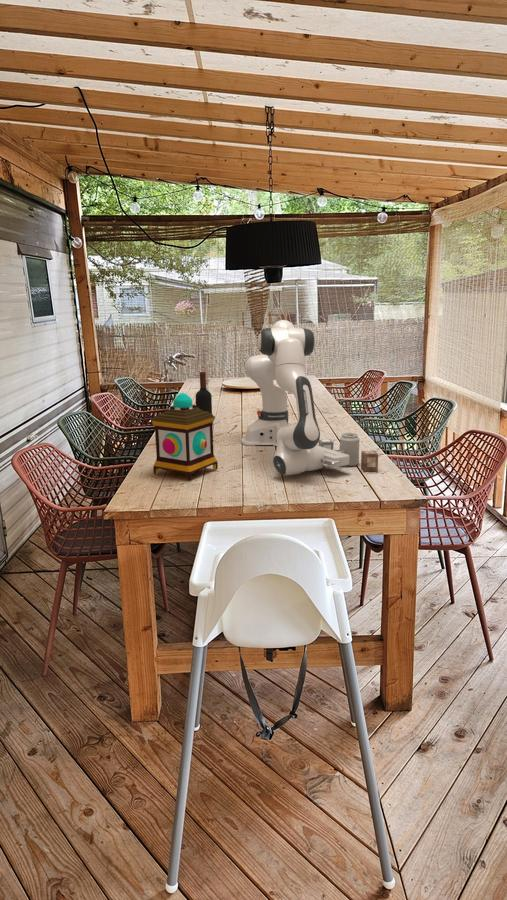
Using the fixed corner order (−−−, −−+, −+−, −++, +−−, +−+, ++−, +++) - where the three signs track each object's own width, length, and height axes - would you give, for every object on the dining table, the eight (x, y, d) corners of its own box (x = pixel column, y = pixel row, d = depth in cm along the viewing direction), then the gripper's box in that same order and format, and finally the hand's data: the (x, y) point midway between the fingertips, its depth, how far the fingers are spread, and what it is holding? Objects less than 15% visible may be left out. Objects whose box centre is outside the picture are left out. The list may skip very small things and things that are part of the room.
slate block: (320, 459, 233) (321, 442, 231) (318, 456, 238) (318, 439, 236) (333, 459, 233) (333, 442, 231) (330, 455, 238) (331, 439, 236)
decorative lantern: (190, 483, 205) (186, 398, 198) (148, 475, 215) (143, 394, 208) (223, 469, 221) (220, 390, 214) (182, 462, 232) (178, 387, 224)
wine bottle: (194, 436, 277) (191, 372, 269) (201, 432, 284) (199, 371, 276) (208, 437, 274) (206, 373, 266) (215, 433, 281) (213, 371, 273)
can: (360, 462, 227) (361, 432, 224) (357, 467, 221) (358, 436, 218) (340, 461, 230) (341, 431, 227) (337, 466, 223) (338, 435, 220)
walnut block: (364, 473, 214) (364, 454, 212) (360, 469, 219) (361, 450, 217) (377, 472, 214) (378, 453, 212) (374, 468, 219) (374, 450, 217)
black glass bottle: (206, 419, 316) (204, 363, 309) (224, 421, 309) (223, 364, 302) (190, 423, 306) (188, 366, 299) (209, 425, 299) (207, 367, 292)
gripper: (332, 455, 205) (361, 449, 213) (296, 444, 222) (324, 439, 229) (332, 472, 207) (360, 466, 214) (296, 460, 223) (324, 454, 231)
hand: (341, 452), depth 222 cm, fingers closed, pressing on can
